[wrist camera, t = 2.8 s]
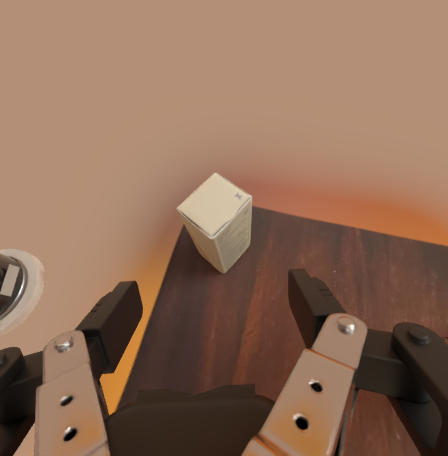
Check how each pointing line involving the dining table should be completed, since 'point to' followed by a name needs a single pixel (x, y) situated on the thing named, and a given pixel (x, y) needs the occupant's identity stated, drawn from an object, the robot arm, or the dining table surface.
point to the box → (218, 221)
